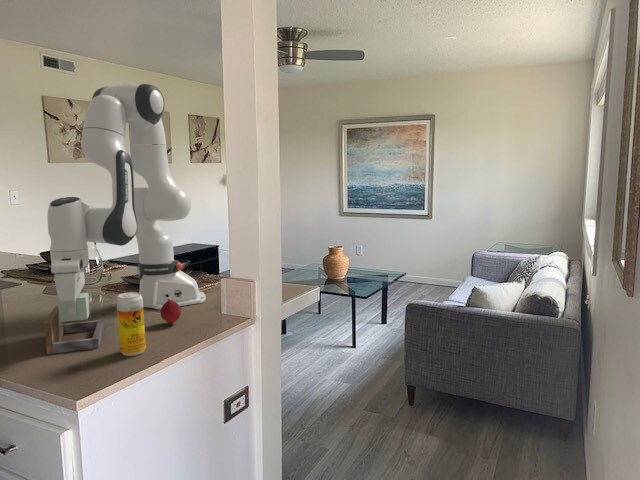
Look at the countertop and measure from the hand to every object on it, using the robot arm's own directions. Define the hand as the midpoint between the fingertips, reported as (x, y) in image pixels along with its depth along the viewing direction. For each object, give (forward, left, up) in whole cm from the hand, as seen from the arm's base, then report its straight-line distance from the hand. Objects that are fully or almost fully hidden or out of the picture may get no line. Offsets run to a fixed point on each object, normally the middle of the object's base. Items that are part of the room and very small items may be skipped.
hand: (74, 310), depth 130 cm
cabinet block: (0, 0, -2) cm, 2 cm away
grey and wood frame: (-1, 0, -9) cm, 9 cm away
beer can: (-15, +14, -9) cm, 22 cm away
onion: (-25, -5, -9) cm, 27 cm away
